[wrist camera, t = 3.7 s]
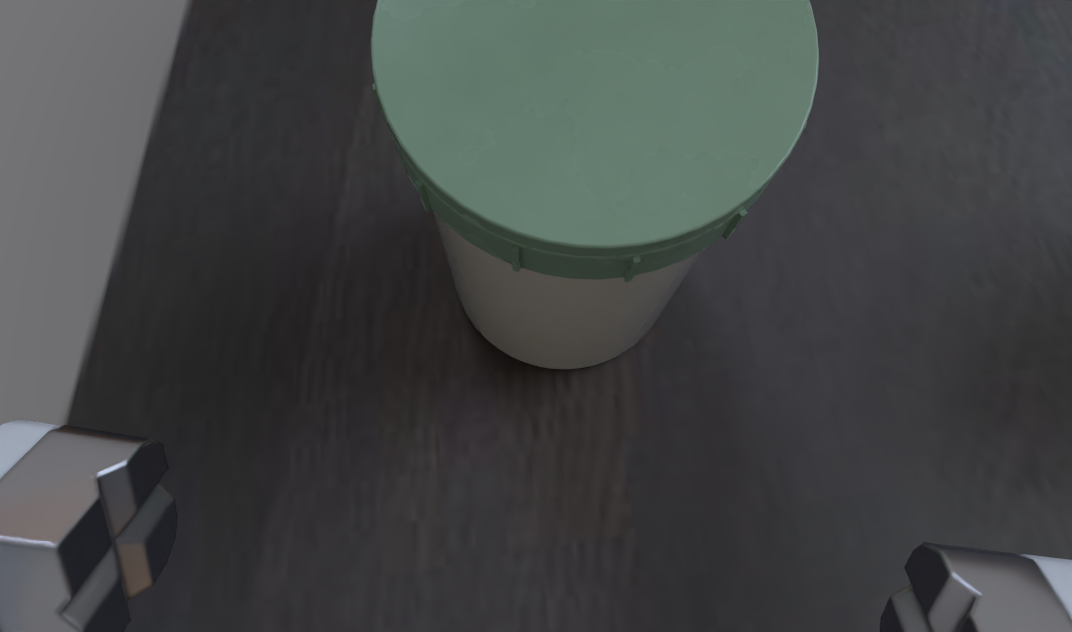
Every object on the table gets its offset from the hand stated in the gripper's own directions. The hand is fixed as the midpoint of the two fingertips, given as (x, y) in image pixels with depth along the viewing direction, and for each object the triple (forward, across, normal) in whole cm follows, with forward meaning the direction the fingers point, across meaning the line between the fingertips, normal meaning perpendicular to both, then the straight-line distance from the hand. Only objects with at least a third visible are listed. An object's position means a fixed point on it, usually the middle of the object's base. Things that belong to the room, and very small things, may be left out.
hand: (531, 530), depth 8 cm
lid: (+6, 0, -4) cm, 7 cm away
